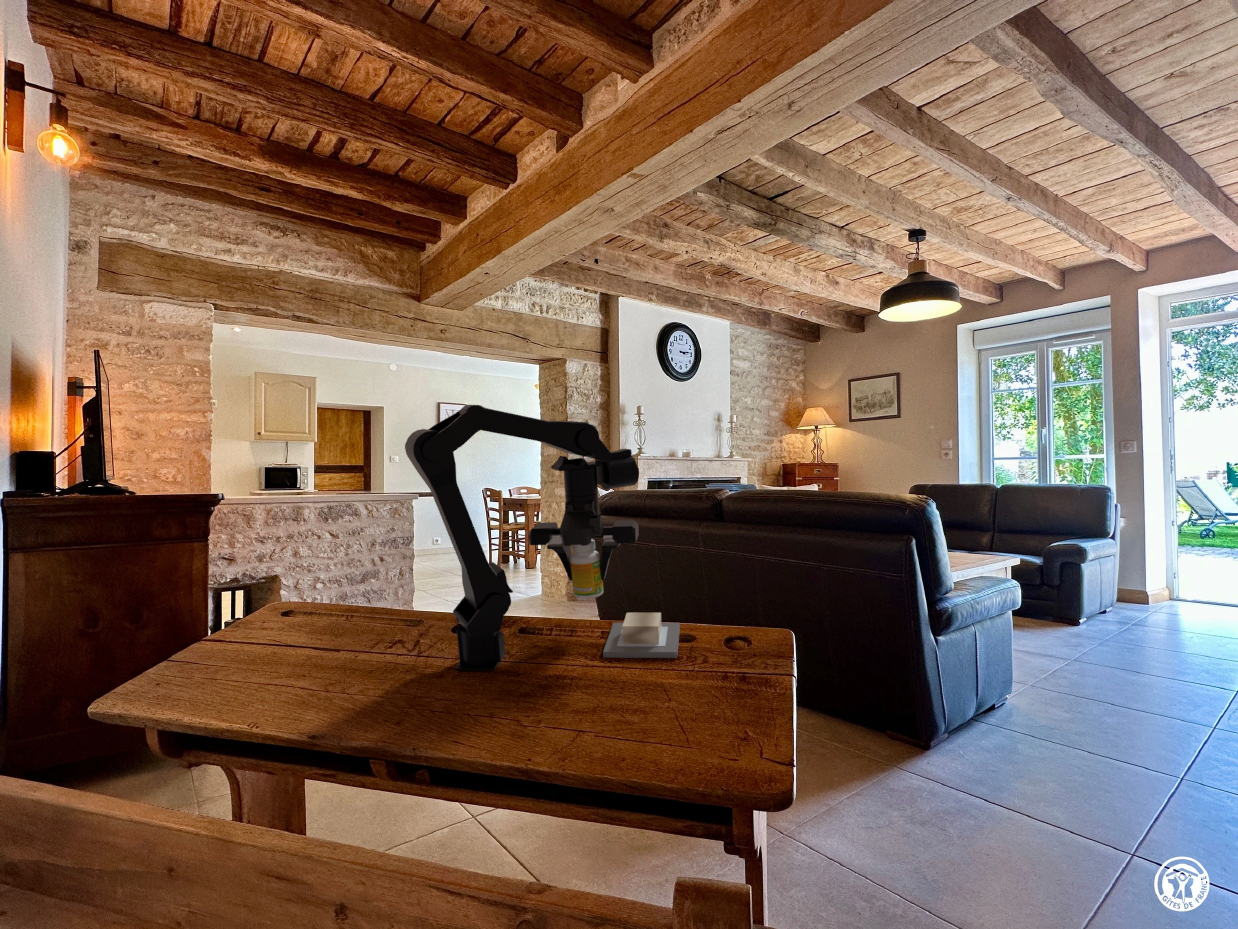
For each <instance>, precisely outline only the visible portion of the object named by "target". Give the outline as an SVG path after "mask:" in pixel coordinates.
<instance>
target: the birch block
mask: <svg viewBox="0 0 1238 929" xmlns="http://www.w3.org/2000/svg"><path fill="white" fill-rule="evenodd" d="M622 623H623V626H622V631H623V643H632V644H659V642H660V636H661V630H662V624H661V623H662V612H626V614H625V618H624V620H623V622H622Z"/></svg>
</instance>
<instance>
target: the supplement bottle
mask: <svg viewBox="0 0 1238 929" xmlns="http://www.w3.org/2000/svg"><path fill="white" fill-rule="evenodd" d="M572 551H573V552H574V553H571V557H570V564H571V573H572V583H571V584H572V592H573V596H574V597H575V598H577V599H579V600H580V599H581V600H590V599H596V598H598V597H601V596H602V595H603V594H604V580H602V577H601V563H602V557H601V554H600V553H599V551H597V550H596V541H595V539H593V538H592V539H591V543H590V544H589V545H586V546H582V545H572Z"/></svg>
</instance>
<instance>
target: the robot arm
mask: <svg viewBox="0 0 1238 929" xmlns="http://www.w3.org/2000/svg"><path fill="white" fill-rule="evenodd" d="M480 431H483V432H489V433H493V434H499V435H505V436H509V437H515V438H518V439H519V438H521V439H524V440H525V439H526V440H530V441H535V442H539V443H541V444H544V445H547V446H549V447H551V448H553V449H555V450H558V451H560V452H564V453H566V454H570V455H576V456H581V457H577V458H576V457H575V458H568V457H567V456H565V455H559V456H558V458H557V460H555V462H554V463H553V464H551V466H550V467H551V470H553V471H558V472H563V481H564V495H565V496H564V497H565V503H564V514H563V518H562V521H561V524H560V526H559V527H558V523H557V522H556V521H555V522H554V521H553V522H549V521H548V522H537V523H536V524H535V525H534V526H533V527H532V528H531V529H530V530H529V531H528V543H529V544H528V545H530V546H546V548H547V550H552V551H553V552H555V553H556V555H557V556H558V558H559V560H560V561H561V564H562V565H563V568H564V570H565V573H566V574H567V577H568V579H569V581H572V573H571V564H570V557H571V555H572V547H571V546H573V545H582V546H586V545H589V544H590V543H591V539H593V538H603V540H604V541H603V542H602V544H601V546H600V547H601V577H602V580H603V581H604V580H605V578H606V576H607V572H608V567H609V564H610V560H611V557H612V553H613V551H614V549H617V548H619V547H620V546H621V544H634V543H636V542H637V540H638V538H639V535H640V534H639V532H640V530H639V523H638V522H637V521H636V520H635V519H634V520H631V519H630V520H626V519H625V520H615V522H614V524H613V525H612V526H611V525H609V526H608V525H607V526H605V525H604V521H603V517H602V514H600V504H599V490H598V485H599V486H600V487H601V489H603V490H613V489H614V490H615V489H619V488H626V487H631V486H636V485H637V483H638V481H639V479H640V478H639V477H640V469H639V467H638V464H637V461H636V460H635V457H634V456H633V455H632V449H630V448H621V449H617V450H612V451H610V450H609V449H608V447H607V446H606V445H605V443H604V442H603V441H602V440H601V438H600V434H599V431H598V429H597V427H596V425H594V424H593V423H590V422H588V421H587V422H586V421H574V420H545V419H541V418H540V419H539V418H534V417H529V416H526V415H520V414H515V413H511V412H507V411H501V410H497V409H491V408H487V407H484V406H482V405H480V404H466V405H464V406H462V408H461V409H459V410H458V411H456V412H455V413H453V414H451V415H450V416H448V417H446V418H444V419H442V420H441V421H439V422H437V423H436V424H434V425H432V426H431V427H429V428H428V429H427V428H421V429H416V430H415V431H413V432H411V434H410V435H409V436H408V438H407V439H406V442H405V444H404V450H405V454H406V456H407V458H408V459H409V461H410V463H411V464H412V466H413V467H414V470H415V471H416V472H417V473H418V475H419V476H420V477H421V479H422V480H423V481H424V483H425V484H426V486H427V487H428V489H429V490H430V492H431V494H432V497H433V501H434V502H435V505H436V507H437V509H438V511H439V515H440V517H441V519H442V523H443V525H444V527H445V530H446V532H447V535H448V537H449V539H450V542H451V544H452V547H453V549H454V552H455V554H456V557H457V560H458V562H459V565H460V567H461V580H462V587H463V592H464V596H463V598H462V599H461V600H460V602H458V604H457V605H456V606H455V608H454V609H453V611H452V613H453V615H454V617H455V619H456V621H457V622H458V623H459V624H460V626H459V627H458V628H457V629H456V638H457V640H456V641H457V649H458V650H457V651H458V658H459V660H458V663H457V665H455V671H480V672H481V671H487V672H489V671H495V670H496V668H497V667H498V666H499V664H500V663H501V662H502V660H503V658H504V657H505V656H506V655H507V651H506V648H505V637H504V636H505V635H504V632H503V631H501V627H502V624H503V620H504V616H505V615H506V614H507V612H508V611H509V609H510V606H511V605H512V599H511V594H512V593H514V590H512V588H511V587H510V586H509V584H508V580H507V579H508V578H507V575H506V571H505V569H503V568H502V567H500V566H499V565H498V564H496V563H495V562H494V561H491V562H490V563H489V561H488V560H487V557H486V555H485V554H486V553H485V551H484V549H483V547H482V544H481V542H480V539H479V536H478V534H477V531H476V529H475V527H474V523H473V522H472V518H471V516H470V513H469V510H468V508H467V506H466V502H465V501H464V498H463V495H462V493H461V491H460V488H459V484H458V481H457V465H456V459H455V454H454V452H455V451H457V450H458V449H459V448H461V447H462V446H463V445H465V444H466V443H467V442H468V441H470V439H471V438H473V437H474V436H475V434H477V433H478V432H480ZM583 457H584V458H583ZM585 458H587V459H588V458H589V459H594V461H587V460H586V459H585Z"/></svg>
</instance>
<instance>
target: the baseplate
mask: <svg viewBox="0 0 1238 929" xmlns="http://www.w3.org/2000/svg"><path fill="white" fill-rule="evenodd" d="M623 623H624V622H613V624H612V626H611V629H610V631H609V635H608V637H607V640H606V642H605V645H604V649H603V651H602V658H606V659H607V658H613V659H614V658H616V659H622V658H624V659H625V658H627V659H629V658H630V659H634V658H635V659H641V658H642V659H677V658H678V655H679V654H678V652H679V643H680V642H679V640H680V629H681V623H680V622H661V624H662V630H661V636H660V642H659V644H632V643H623V631H622V626H623Z"/></svg>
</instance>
